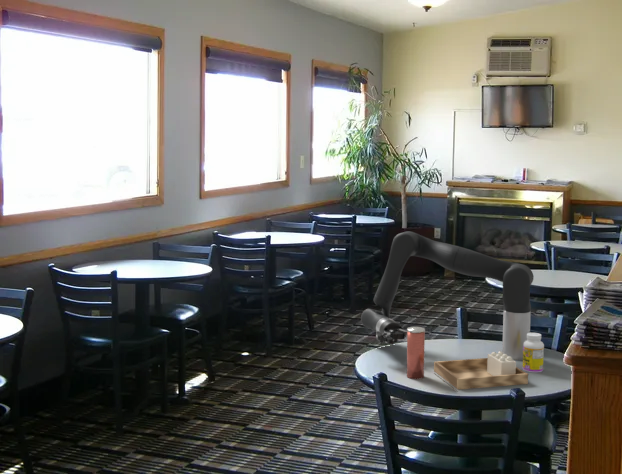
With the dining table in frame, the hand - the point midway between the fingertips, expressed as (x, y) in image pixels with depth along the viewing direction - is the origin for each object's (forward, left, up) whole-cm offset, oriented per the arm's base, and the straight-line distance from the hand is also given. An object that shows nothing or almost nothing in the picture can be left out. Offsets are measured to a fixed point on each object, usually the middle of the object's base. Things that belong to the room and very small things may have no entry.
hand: (404, 341), depth 274 cm
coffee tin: (0, +11, -9) cm, 14 cm away
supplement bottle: (-40, +15, -9) cm, 44 cm away
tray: (-19, +19, -9) cm, 28 cm away
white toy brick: (-27, +19, -8) cm, 34 cm away
